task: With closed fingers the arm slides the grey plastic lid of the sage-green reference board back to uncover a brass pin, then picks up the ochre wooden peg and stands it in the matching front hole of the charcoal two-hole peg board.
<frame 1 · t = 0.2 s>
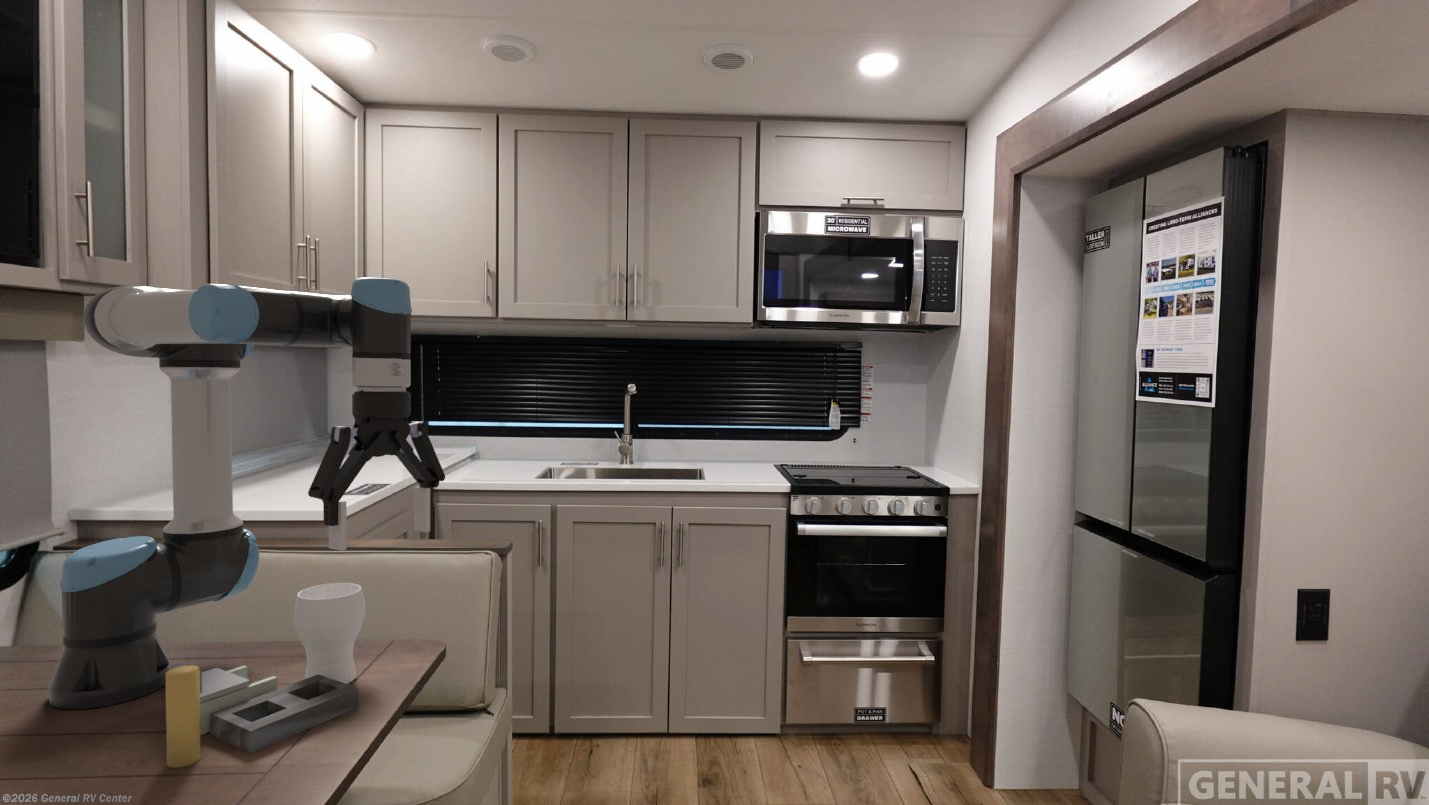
hand: (382, 539, 106), 28 cm above the table, fingers open, 13 cm apart
peg board: (287, 720, 110), on the table
peg: (183, 760, 98), on the table
lid: (208, 674, 110), point 6 cm above the table, slide at 0.0 cm
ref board: (222, 712, 112), on the table
cup: (330, 681, 124), on the table
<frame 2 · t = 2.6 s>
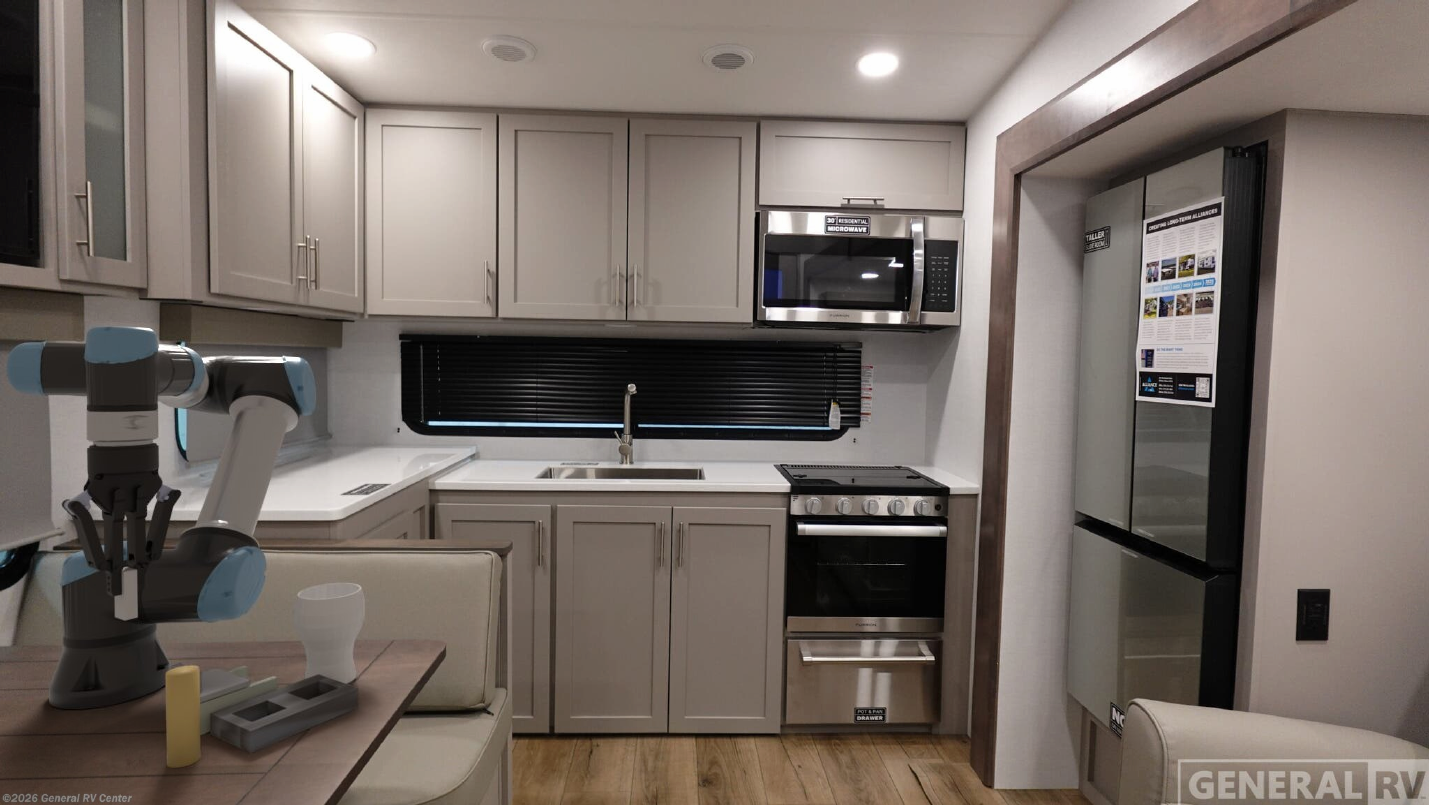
hand: (126, 617, 100), 18 cm above the table, fingers closed
nothing on the table moved.
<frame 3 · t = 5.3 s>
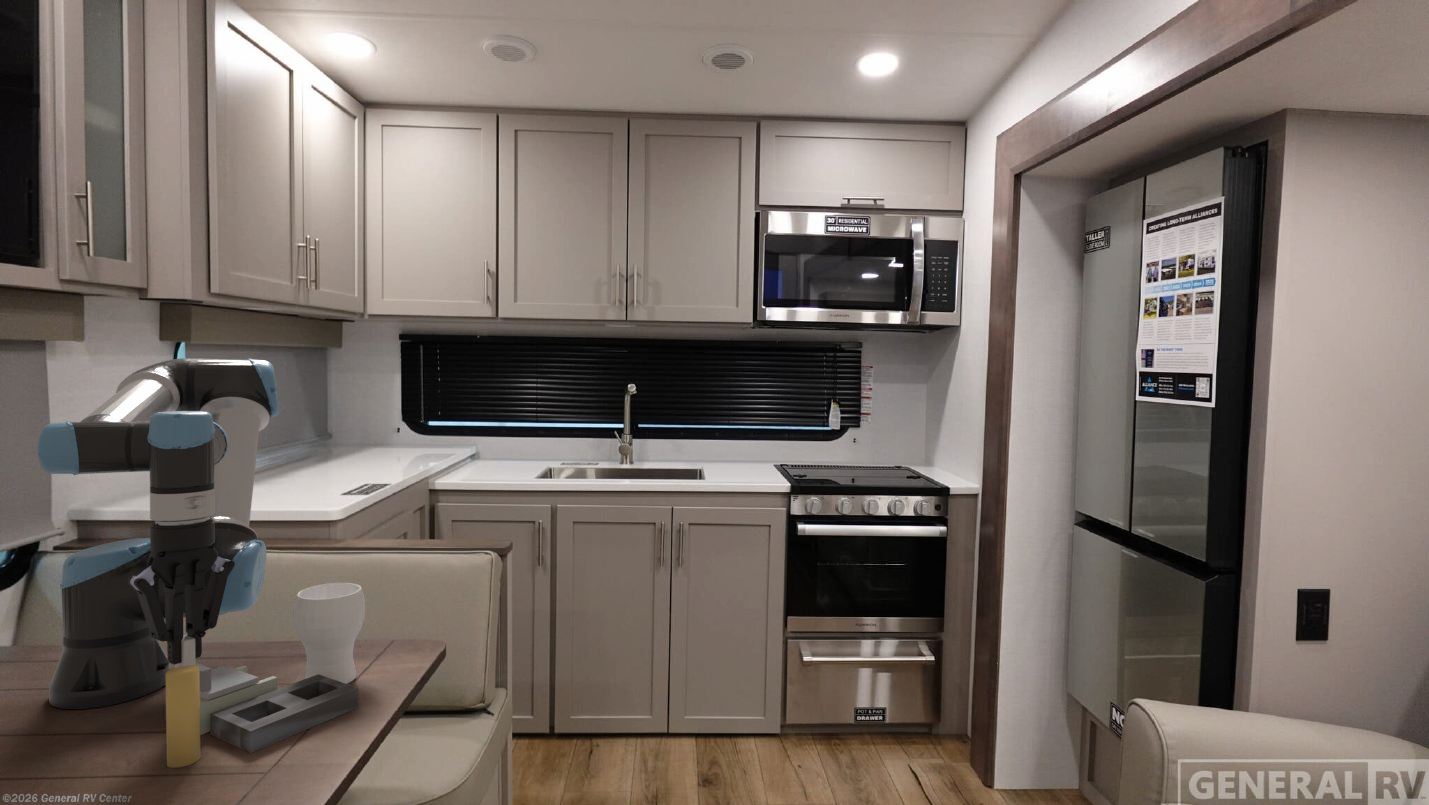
hand: (185, 682, 107), 6 cm above the table, fingers closed
lid: (217, 671, 111), point 6 cm above the table, slide at 1.2 cm, touching gripper
everything else where it was.
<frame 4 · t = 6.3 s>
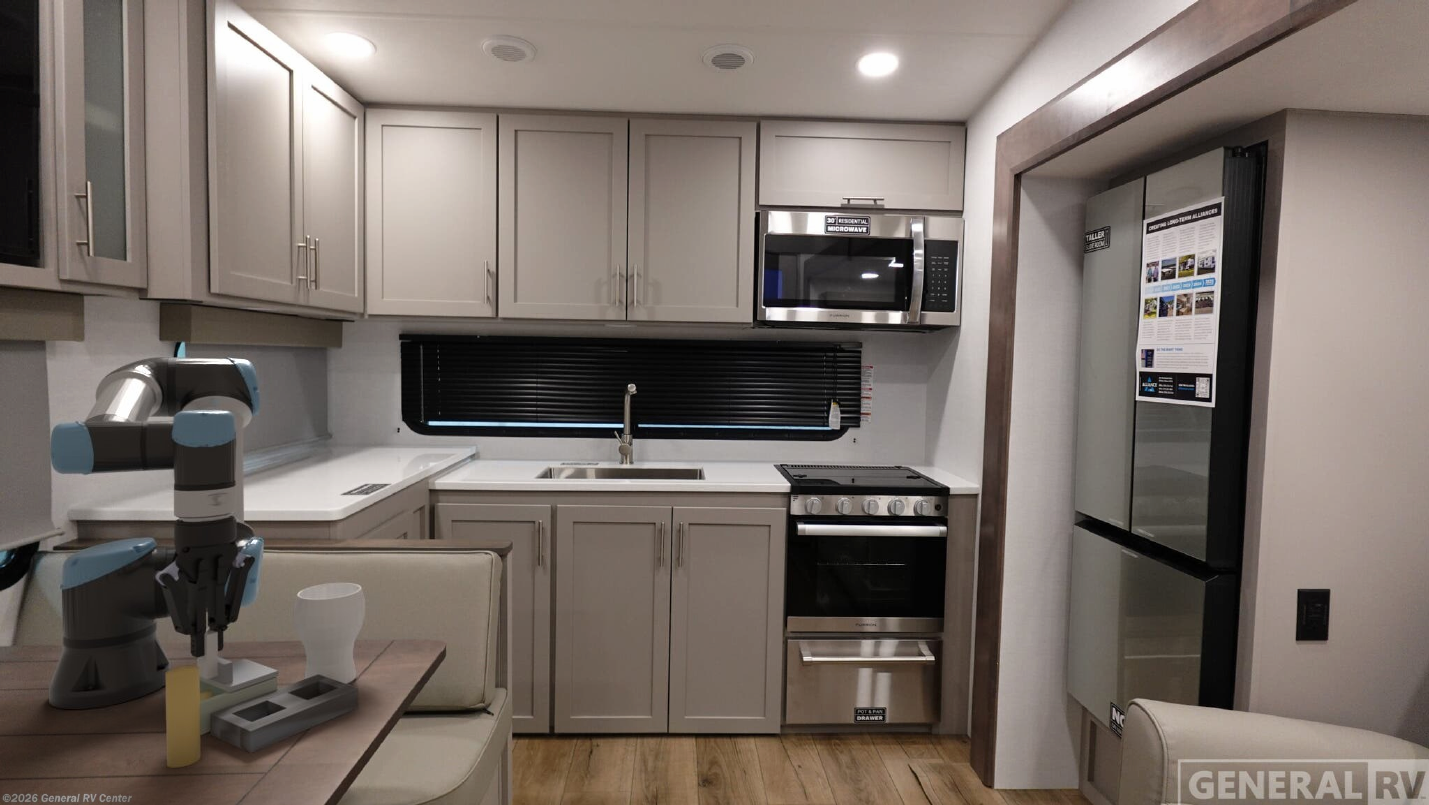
hand: (207, 675, 110), 6 cm above the table, fingers closed
lid: (237, 665, 113), point 6 cm above the table, slide at 4.2 cm, touching gripper
everything else where it was.
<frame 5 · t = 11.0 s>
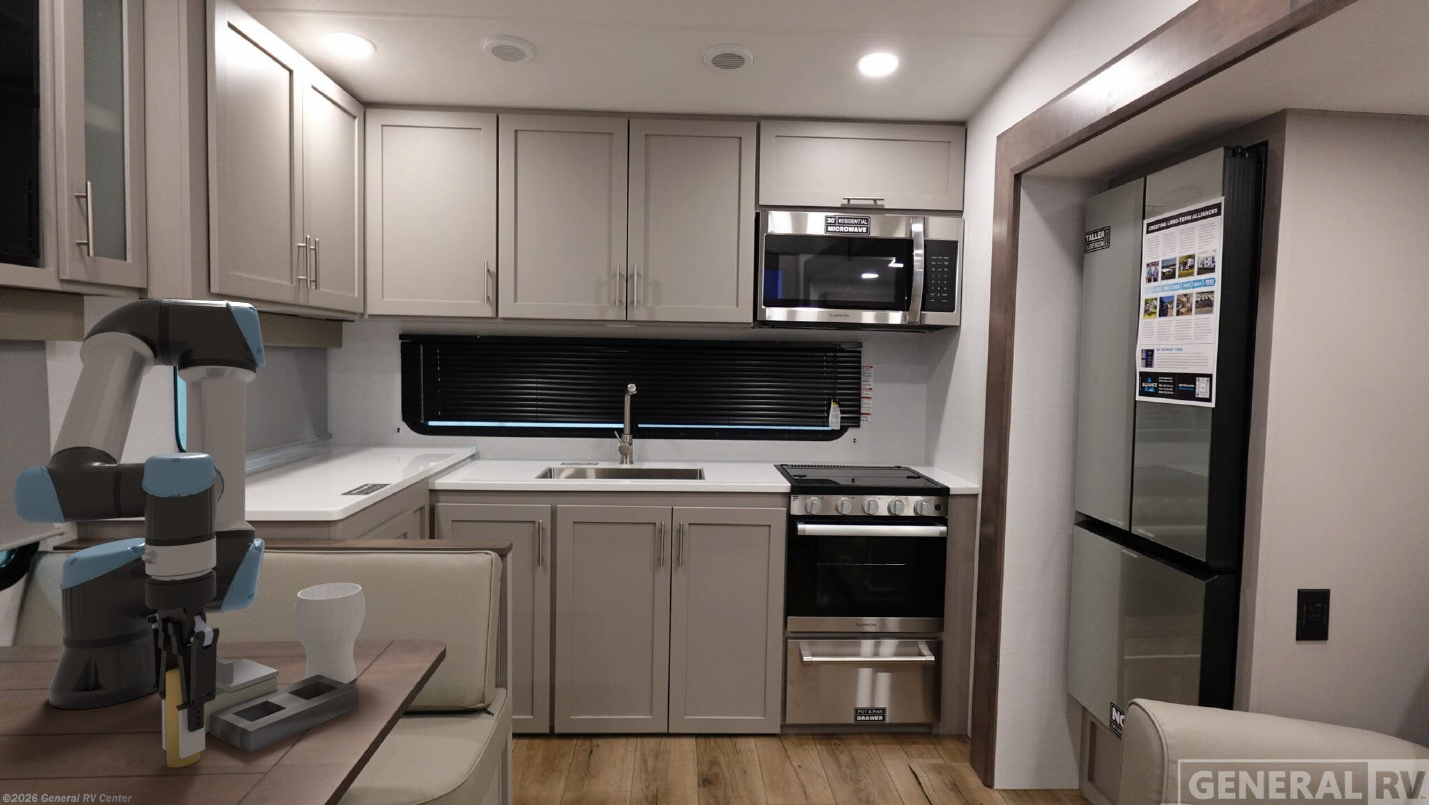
hand: (183, 748, 98), 2 cm above the table, fingers closed on peg, 3 cm apart
peg: (184, 760, 98), on the table, touching gripper
lid: (238, 665, 113), point 6 cm above the table, slide at 4.3 cm
everything else where it was.
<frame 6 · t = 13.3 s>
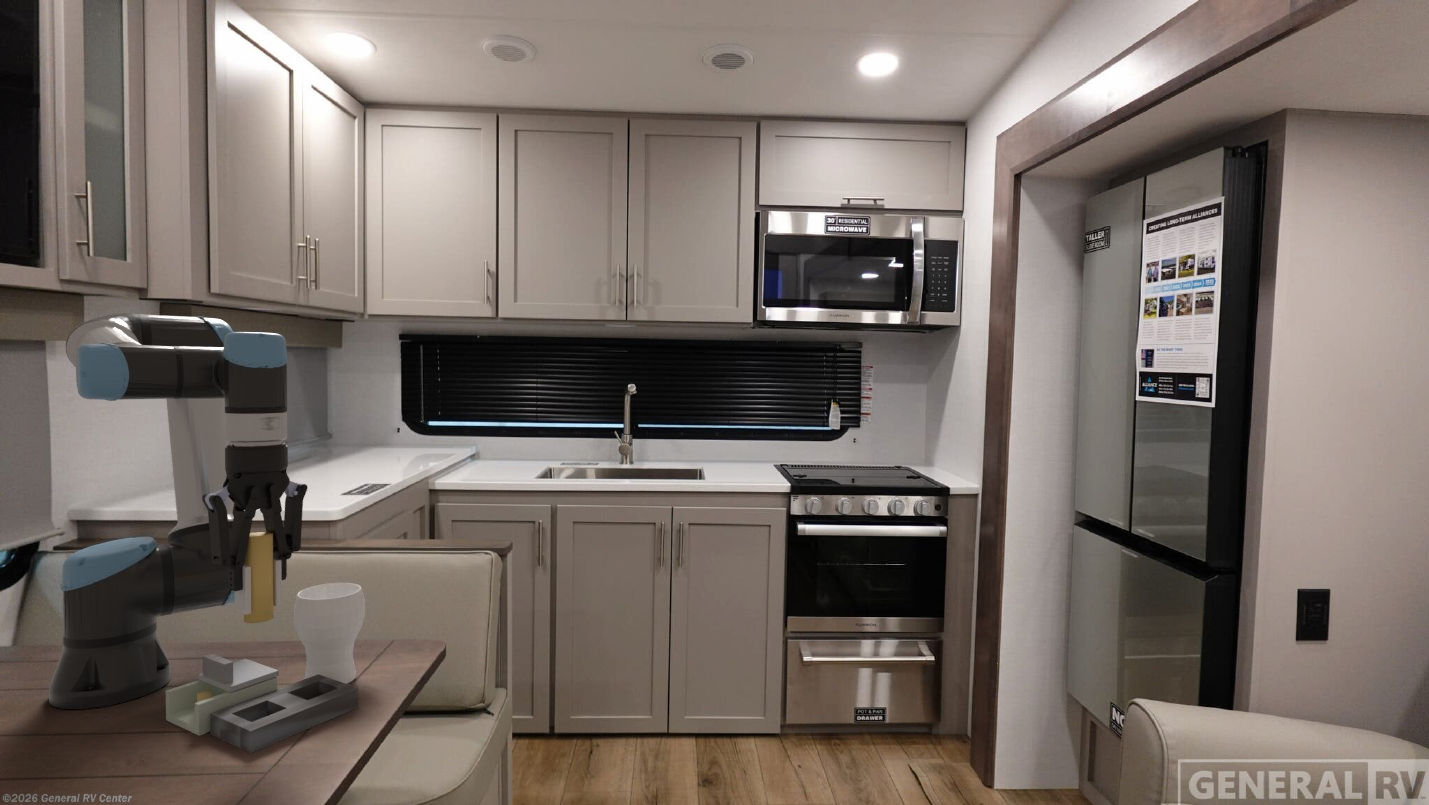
hand: (258, 607, 105), 18 cm above the table, fingers closed on peg, 3 cm apart
peg: (258, 619, 105), point 16 cm above the table, touching gripper
everything else where it was.
when the fingers open (4 cm above the table, at t = 15.9 s): peg drops 1 cm, resting in peg board.
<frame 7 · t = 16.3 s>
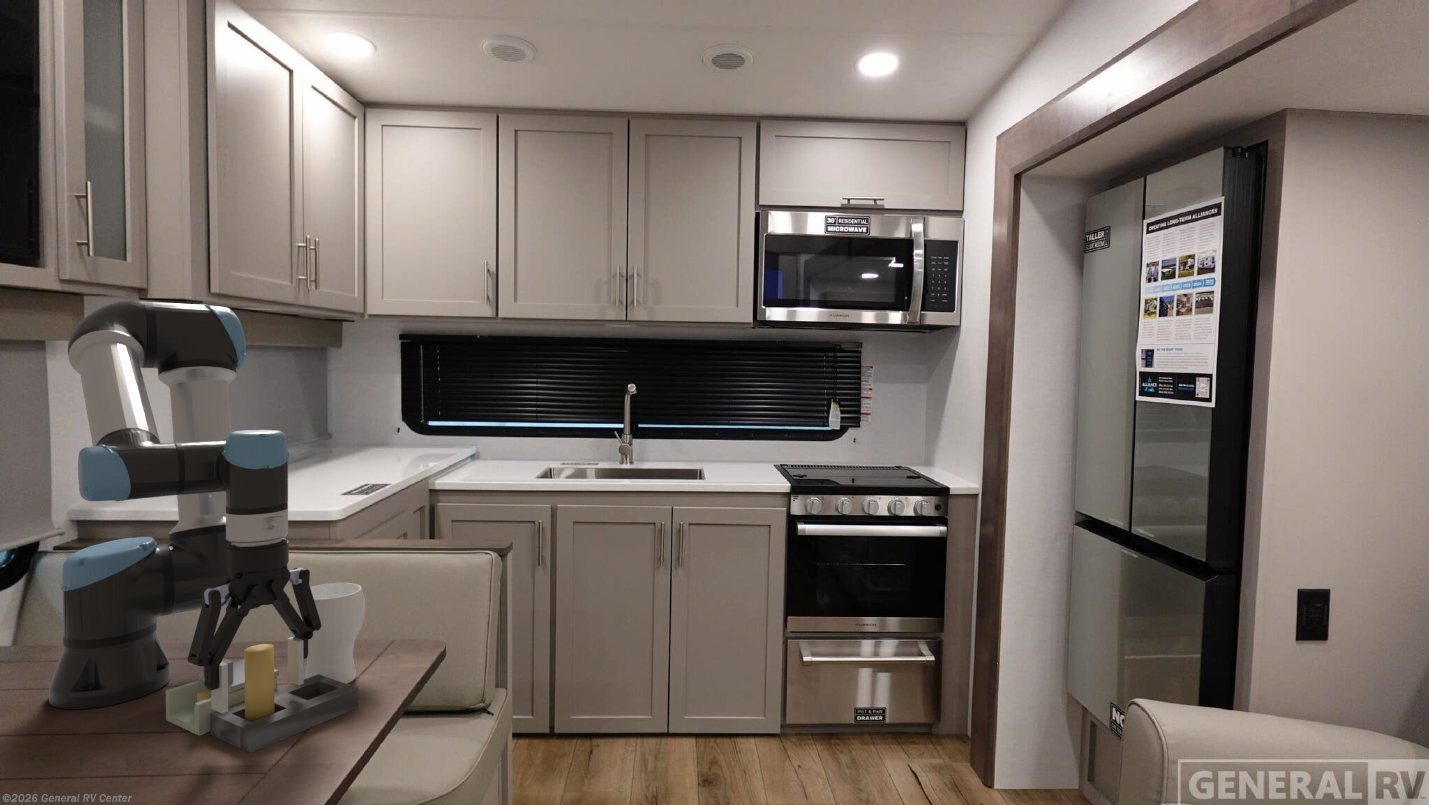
hand: (259, 695, 106), 5 cm above the table, fingers open, 10 cm apart
peg: (260, 731, 106), resting in peg board
everything else where it was.
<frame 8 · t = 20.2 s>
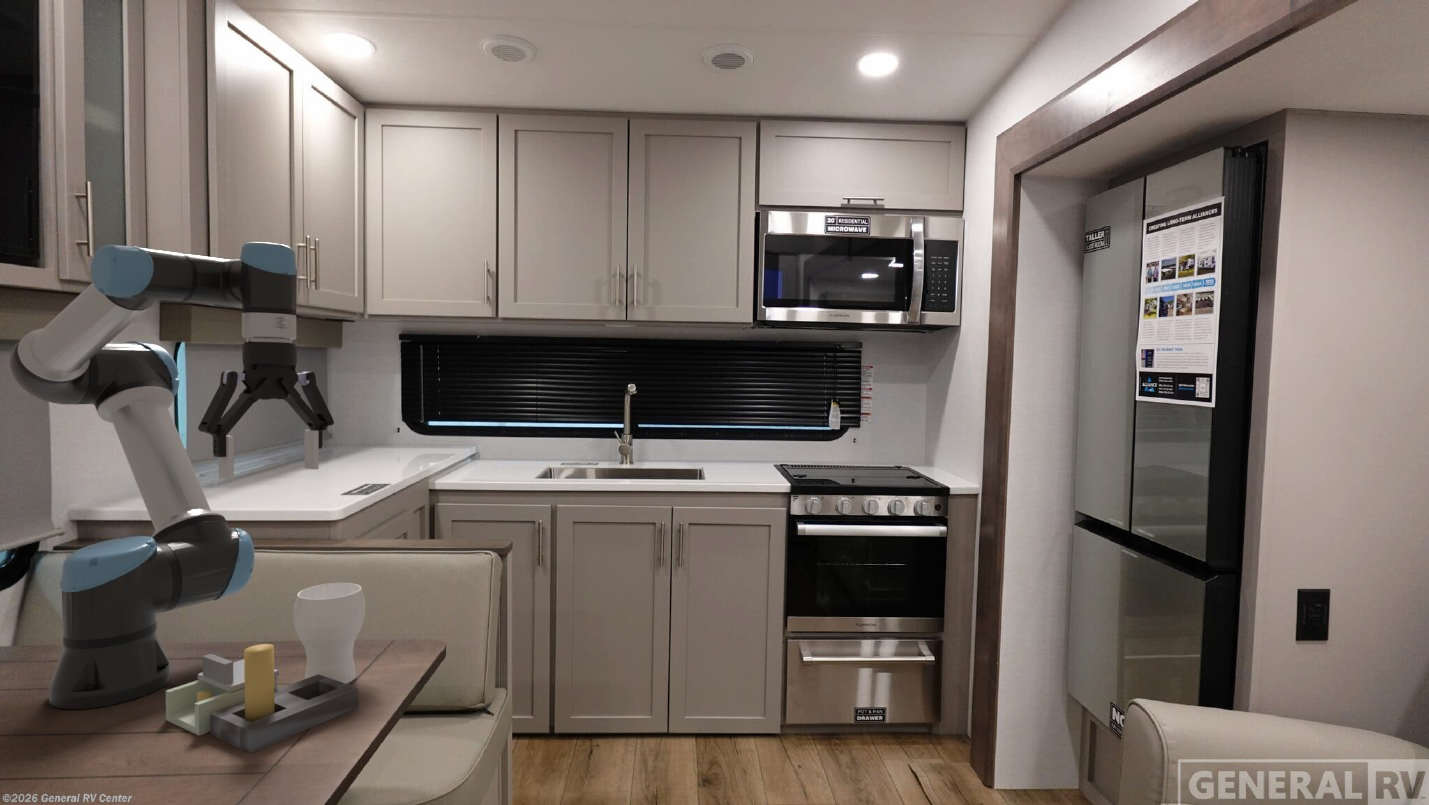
hand: (271, 473, 120), 35 cm above the table, fingers open, 13 cm apart
nothing on the table moved.
at the end: lid slide at 4.3 cm; peg 0.0 cm from the target spot on the peg board, point 0.0 cm above the peg board's base; peg tilted 0° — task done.
